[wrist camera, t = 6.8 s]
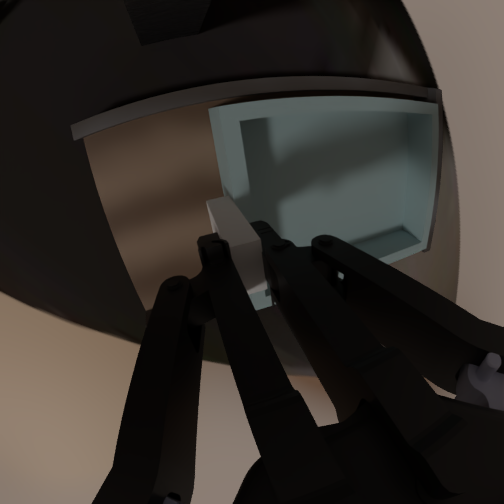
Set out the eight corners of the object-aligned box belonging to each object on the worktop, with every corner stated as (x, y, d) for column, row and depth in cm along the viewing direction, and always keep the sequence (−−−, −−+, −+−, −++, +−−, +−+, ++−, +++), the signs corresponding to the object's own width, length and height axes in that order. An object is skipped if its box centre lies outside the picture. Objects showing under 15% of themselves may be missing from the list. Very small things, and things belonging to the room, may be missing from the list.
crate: (208, 108, 16) (218, 106, 13) (405, 100, 19) (438, 104, 16) (240, 281, 23) (254, 310, 20) (401, 231, 26) (426, 248, 23)
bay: (84, 123, 15) (64, 126, 11) (411, 87, 20) (441, 89, 16) (150, 311, 23) (150, 343, 20) (406, 234, 28) (429, 250, 25)
